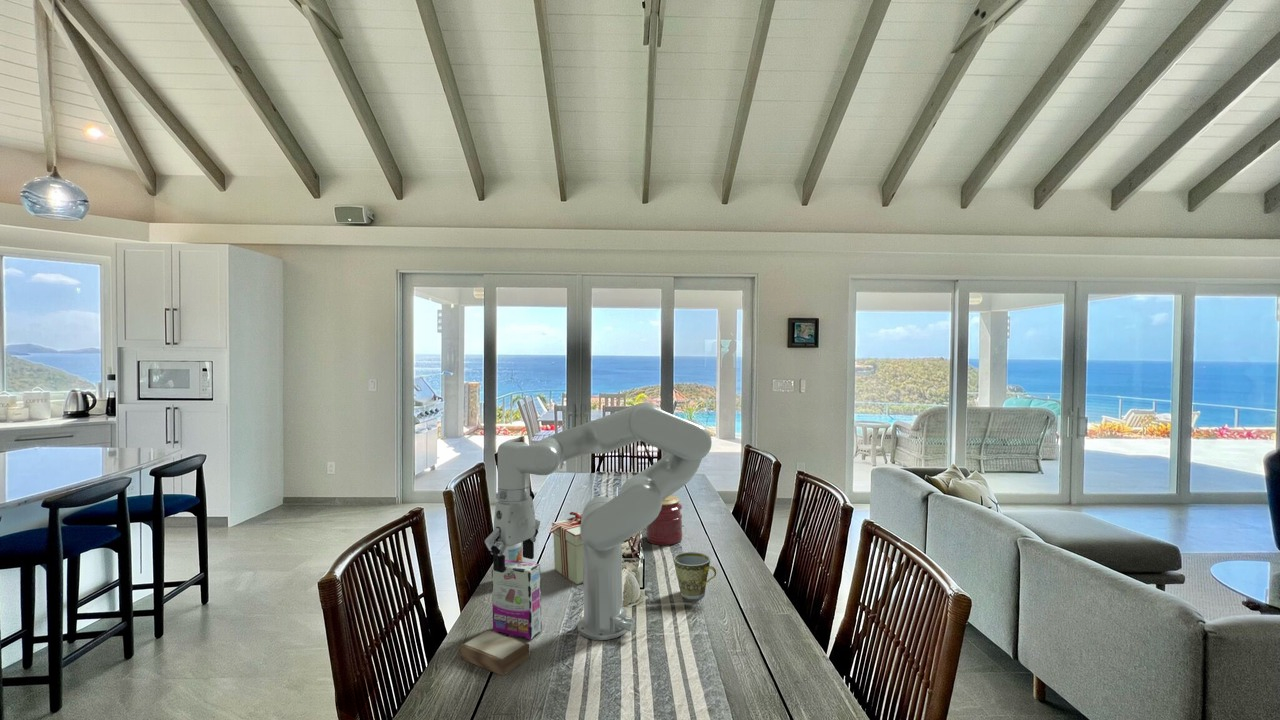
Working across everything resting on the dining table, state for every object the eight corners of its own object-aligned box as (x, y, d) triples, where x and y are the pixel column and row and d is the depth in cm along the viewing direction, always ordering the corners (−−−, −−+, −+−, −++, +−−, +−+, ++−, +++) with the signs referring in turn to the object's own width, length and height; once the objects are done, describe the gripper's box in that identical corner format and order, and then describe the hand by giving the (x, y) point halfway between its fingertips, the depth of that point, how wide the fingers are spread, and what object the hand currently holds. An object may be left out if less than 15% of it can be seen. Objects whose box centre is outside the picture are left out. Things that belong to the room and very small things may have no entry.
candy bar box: (542, 630, 134) (541, 563, 134) (531, 640, 129) (529, 571, 129) (504, 622, 138) (503, 557, 138) (491, 632, 133) (490, 565, 133)
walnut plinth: (529, 657, 122) (529, 643, 122) (502, 675, 115) (502, 660, 115) (488, 641, 129) (487, 628, 129) (460, 658, 122) (460, 644, 122)
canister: (659, 531, 206) (658, 484, 206) (689, 537, 198) (688, 488, 198) (638, 541, 195) (638, 491, 195) (669, 548, 188) (668, 496, 188)
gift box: (542, 573, 169) (541, 517, 168) (591, 557, 181) (590, 505, 181) (573, 591, 156) (572, 530, 156) (624, 572, 168) (623, 516, 168)
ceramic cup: (666, 595, 152) (666, 559, 152) (689, 583, 159) (688, 549, 159) (705, 609, 143) (704, 571, 143) (726, 596, 151) (726, 560, 150)
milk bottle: (499, 589, 158) (497, 519, 157) (493, 579, 164) (491, 513, 164) (525, 583, 161) (524, 515, 161) (518, 574, 168) (517, 509, 168)
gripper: (498, 504, 124) (498, 580, 124) (549, 488, 138) (549, 556, 139) (475, 499, 128) (475, 573, 128) (527, 484, 142) (527, 550, 143)
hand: (514, 564), depth 133 cm, fingers open, 9 cm apart
